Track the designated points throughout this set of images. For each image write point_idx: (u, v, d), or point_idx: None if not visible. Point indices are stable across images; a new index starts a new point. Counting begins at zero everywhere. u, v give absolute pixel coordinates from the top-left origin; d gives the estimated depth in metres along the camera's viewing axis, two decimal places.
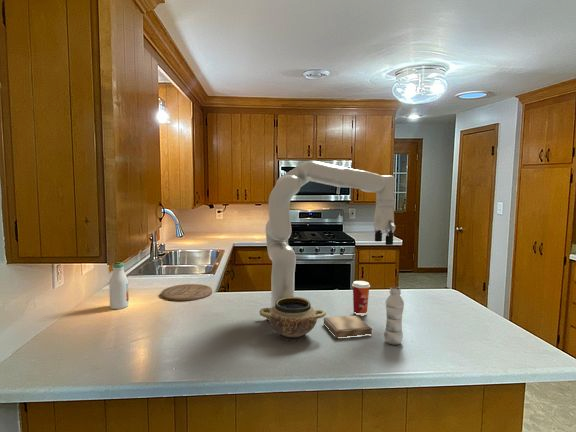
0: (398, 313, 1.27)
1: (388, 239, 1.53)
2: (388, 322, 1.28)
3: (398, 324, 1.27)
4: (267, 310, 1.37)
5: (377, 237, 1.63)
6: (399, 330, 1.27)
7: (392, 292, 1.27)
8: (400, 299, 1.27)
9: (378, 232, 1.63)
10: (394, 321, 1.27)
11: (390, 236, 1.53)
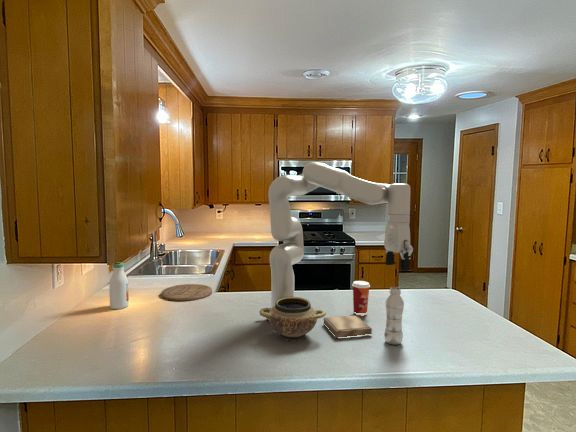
0: (398, 313, 1.27)
1: (403, 264, 1.22)
2: (388, 322, 1.28)
3: (398, 324, 1.27)
4: (267, 310, 1.37)
5: (389, 260, 1.32)
6: (399, 330, 1.27)
7: (392, 292, 1.27)
8: (400, 299, 1.27)
9: (390, 253, 1.32)
10: (394, 321, 1.27)
11: (406, 260, 1.22)
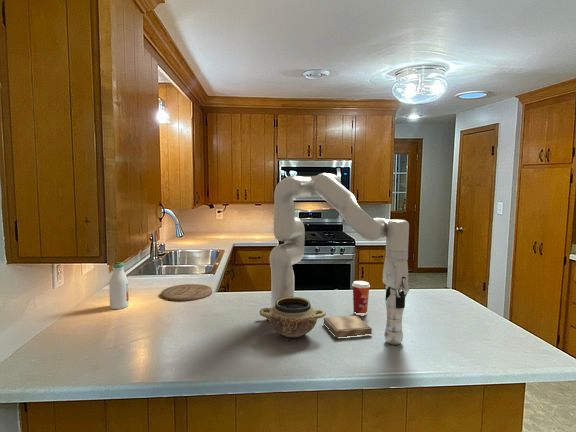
0: (398, 313, 1.26)
1: (399, 302, 1.25)
2: (388, 322, 1.28)
3: (398, 324, 1.27)
4: (267, 310, 1.37)
5: None
6: (399, 330, 1.27)
7: (392, 292, 1.27)
8: None
9: None
10: (394, 321, 1.27)
11: (401, 298, 1.24)
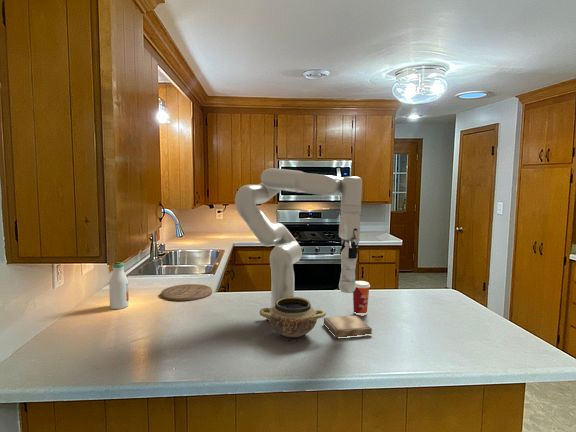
0: (351, 264, 1.36)
1: (351, 252, 1.34)
2: (342, 272, 1.38)
3: (351, 274, 1.37)
4: (267, 310, 1.37)
5: None
6: (352, 279, 1.37)
7: (346, 244, 1.37)
8: None
9: None
10: (347, 271, 1.36)
11: (353, 249, 1.34)
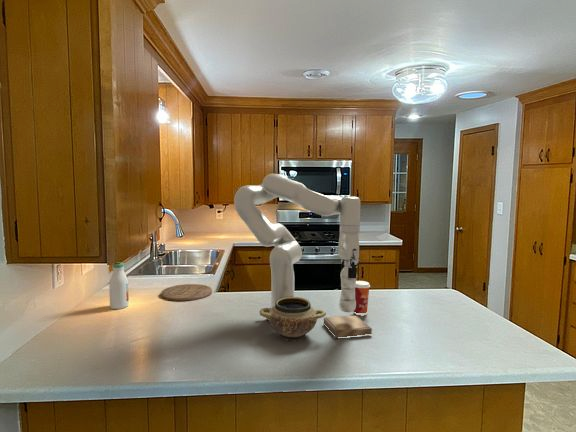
0: (351, 283, 1.37)
1: (351, 272, 1.35)
2: (342, 291, 1.38)
3: (351, 293, 1.37)
4: (267, 310, 1.37)
5: None
6: (352, 299, 1.37)
7: (346, 264, 1.37)
8: None
9: None
10: (347, 290, 1.37)
11: (353, 268, 1.34)
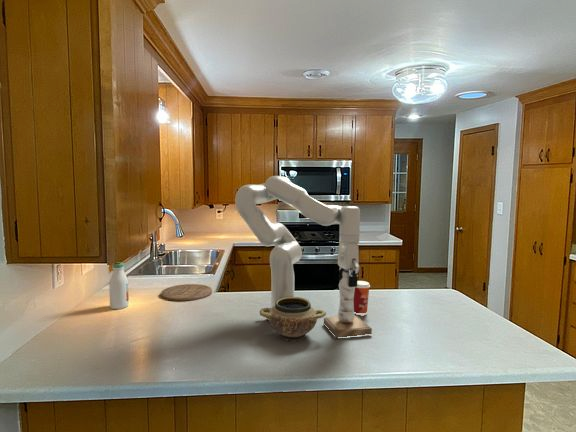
0: (349, 294, 1.38)
1: (351, 280, 1.34)
2: (340, 302, 1.39)
3: (349, 304, 1.38)
4: (267, 310, 1.37)
5: (342, 276, 1.43)
6: (350, 310, 1.38)
7: (344, 275, 1.38)
8: None
9: (343, 270, 1.43)
10: (345, 301, 1.38)
11: (354, 277, 1.34)
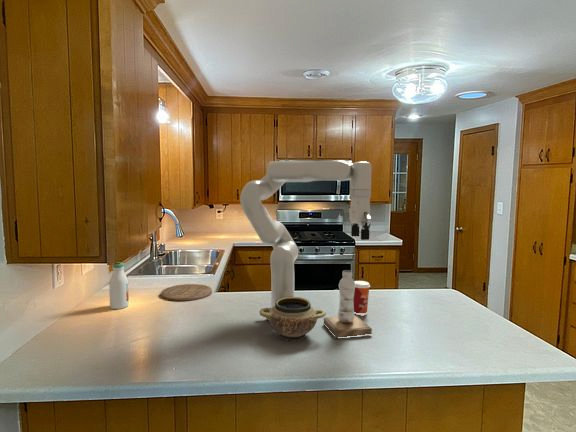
0: (349, 294, 1.38)
1: (363, 233, 1.36)
2: (340, 302, 1.39)
3: (349, 304, 1.38)
4: (267, 310, 1.37)
5: (354, 231, 1.46)
6: (350, 310, 1.38)
7: (344, 275, 1.38)
8: (351, 281, 1.38)
9: (355, 226, 1.46)
10: (345, 301, 1.38)
11: (366, 230, 1.36)
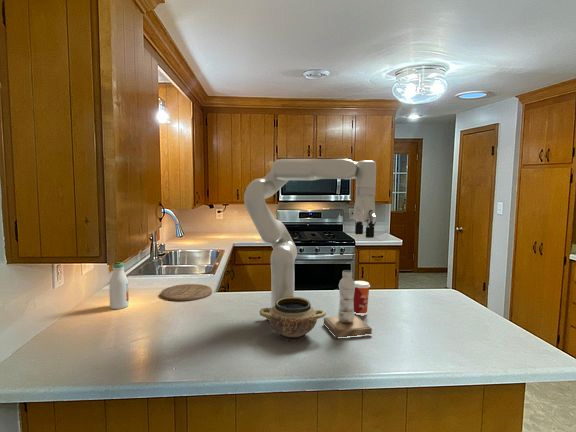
0: (349, 294, 1.38)
1: (368, 231, 1.38)
2: (340, 302, 1.39)
3: (349, 304, 1.38)
4: (267, 310, 1.37)
5: (358, 229, 1.48)
6: (350, 310, 1.38)
7: (344, 275, 1.38)
8: (351, 281, 1.38)
9: (359, 224, 1.48)
10: (345, 301, 1.38)
11: (371, 228, 1.38)
